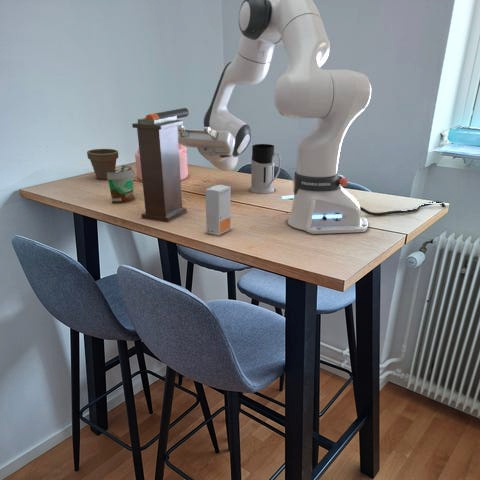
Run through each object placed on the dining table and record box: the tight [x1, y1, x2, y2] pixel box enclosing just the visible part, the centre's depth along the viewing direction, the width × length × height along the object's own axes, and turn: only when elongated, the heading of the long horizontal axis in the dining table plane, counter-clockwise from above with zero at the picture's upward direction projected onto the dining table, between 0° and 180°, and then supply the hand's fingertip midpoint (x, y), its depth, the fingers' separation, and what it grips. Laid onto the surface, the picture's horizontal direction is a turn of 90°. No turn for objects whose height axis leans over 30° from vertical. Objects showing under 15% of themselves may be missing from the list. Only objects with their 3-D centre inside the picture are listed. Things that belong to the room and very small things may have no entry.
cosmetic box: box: [205, 184, 232, 236], centre depth 125 cm, size 6×4×12 cm
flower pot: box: [86, 148, 119, 181], centre depth 180 cm, size 12×11×10 cm
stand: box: [131, 115, 188, 223], centre depth 135 cm, size 12×9×27 cm
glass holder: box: [249, 143, 282, 194], centre depth 161 cm, size 9×14×15 cm, turn 33°
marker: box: [145, 107, 190, 120], centre depth 132 cm, size 19×2×2 cm, turn 156°
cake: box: [134, 143, 189, 181], centre depth 180 cm, size 20×20×14 cm
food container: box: [107, 164, 135, 204], centre depth 153 cm, size 12×6×10 cm, turn 168°
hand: (192, 128), depth 146 cm, fingers open, 8 cm apart
